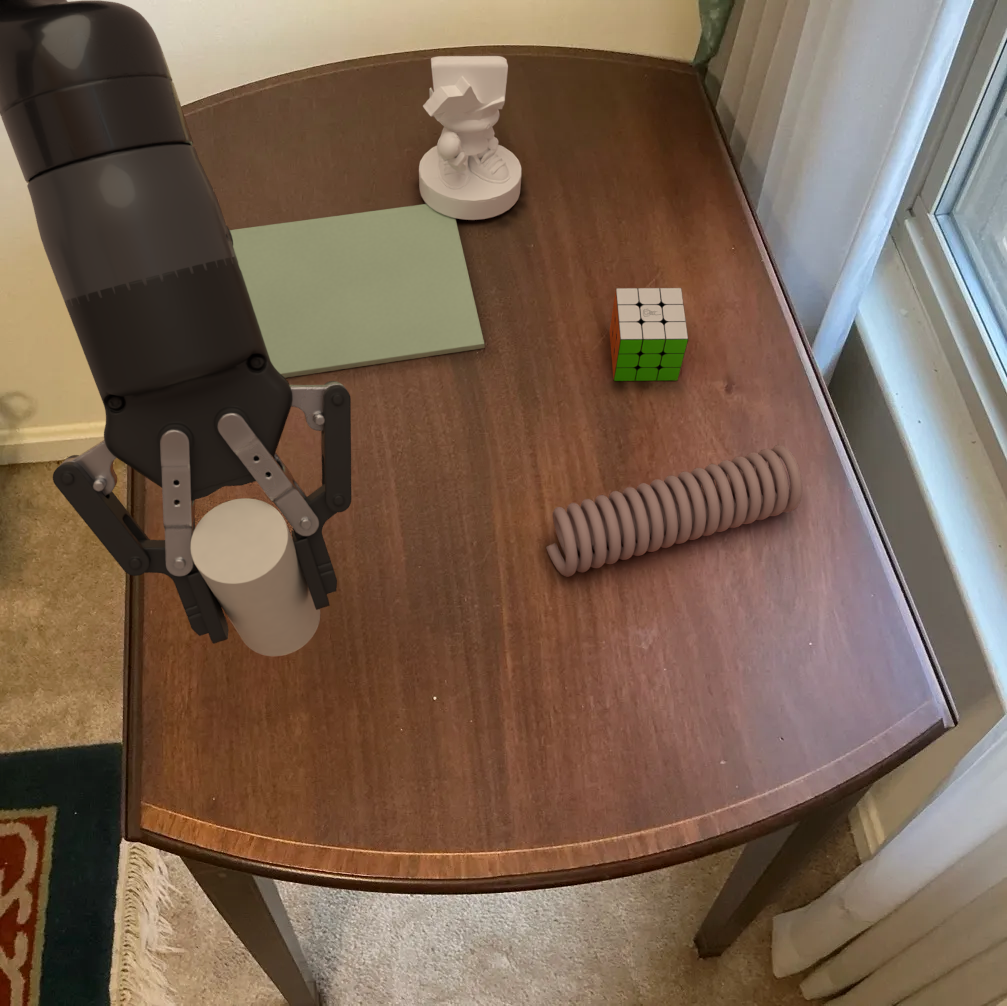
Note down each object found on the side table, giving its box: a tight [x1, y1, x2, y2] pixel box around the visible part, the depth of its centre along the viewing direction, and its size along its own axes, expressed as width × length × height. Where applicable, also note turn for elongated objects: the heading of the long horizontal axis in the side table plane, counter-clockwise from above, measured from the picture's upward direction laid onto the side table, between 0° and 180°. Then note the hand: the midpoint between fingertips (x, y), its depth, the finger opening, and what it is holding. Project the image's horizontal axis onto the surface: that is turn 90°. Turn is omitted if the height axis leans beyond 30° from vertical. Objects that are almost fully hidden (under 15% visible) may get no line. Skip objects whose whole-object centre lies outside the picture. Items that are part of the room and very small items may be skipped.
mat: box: [229, 203, 485, 379], centre depth 78 cm, size 20×16×1 cm
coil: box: [545, 444, 803, 577], centre depth 65 cm, size 5×5×18 cm
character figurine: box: [418, 55, 522, 221], centre depth 79 cm, size 9×10×12 cm
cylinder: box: [190, 497, 321, 657], centre depth 48 cm, size 4×4×9 cm
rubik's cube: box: [608, 287, 689, 382], centre depth 73 cm, size 5×5×5 cm
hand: (272, 617), depth 47 cm, fingers closed on cylinder, 4 cm apart
